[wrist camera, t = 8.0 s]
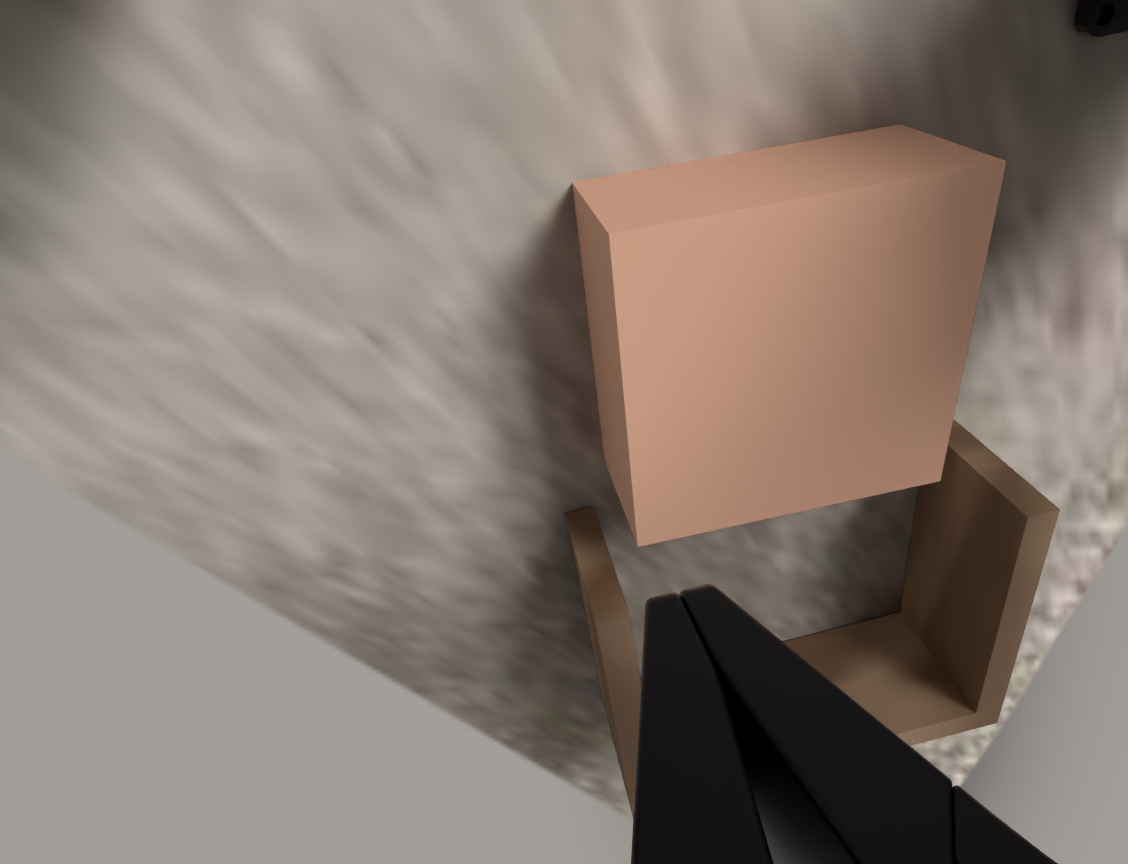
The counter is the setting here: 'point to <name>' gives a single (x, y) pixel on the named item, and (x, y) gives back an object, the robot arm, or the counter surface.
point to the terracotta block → (782, 323)
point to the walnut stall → (893, 642)
